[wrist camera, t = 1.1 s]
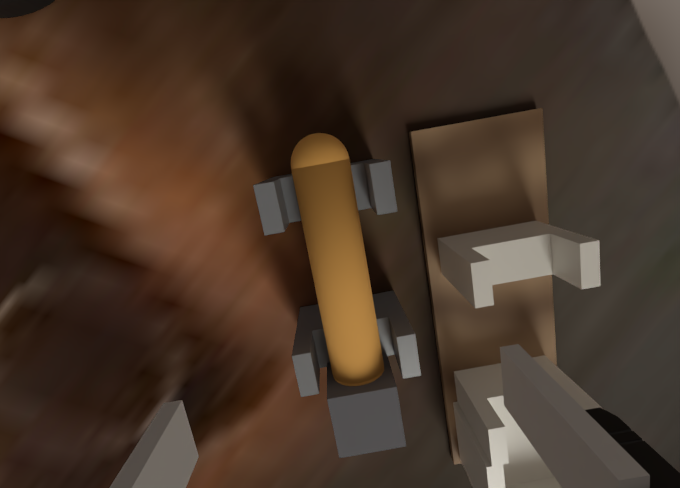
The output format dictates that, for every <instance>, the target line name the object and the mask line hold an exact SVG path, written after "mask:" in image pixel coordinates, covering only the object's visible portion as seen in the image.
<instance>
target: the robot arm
mask: <svg viewBox="0 0 680 488" xmlns="http://www.w3.org/2000/svg"><path fill="white" fill-rule="evenodd" d="M53 1H55V0H0V18H11V17H18V16H22V15H26V14H29V13H32V12H35V11H37V10H40V9H42V8H44V7H45V6H47V5H49V4H50V3H52V2H53ZM500 356H501V370H502V384H503V397H504V406H505V407H506V409H507V410H508V412H509V413H510V414H511V416H512V417H513V419H514V420H515V422H516V423H517V424H518V426H519V427H520V429H521V430H522V432H523V433H524V434H525V436H526V437H527V439H528V440H529V441H530V443H531V444H532V446H533V447H534V449H535V450H536V451H537V453H538V454H539V456H540V457H541V459H542V460H543V461H544V463H545V464H546V466H547V467H548V468H549V470H550V471H551V473H552V474H553V476H554V477H555V478H556V480H557V481H558V483H559V484H560V485H561V487H562V488H680V473H679V472H678V471H677V470H676V469H675V468H673V467H672V466H671V465H670V464H669V463H668V462H667V461H666V460H665V459H664V458H662V457H661V456H660V455H659V454H658V453H657V452H656V451H655V450H654V449H653V448H651V447H650V446H649V445H648V444H647V443H646V442H645V441H642V438H640V437H639V436H638V435H637V434H636V433H635V432H634V431H631V429H630V428H629V427H628V426H627V425H626V424H625V423H624V422H623V421H622V420H621V419H619V418H618V417H617V416H615V415H613V414H611V413H610V412H608V411H606V410H604V409H602V408H594V409H588V410H584V409H583V408H582V407H581V406H580V405H579V404H578V403H577V402H576V401H575V400H574V399H573V398H572V397H571V396H570V395H569V394H568V393H567V392H566V391H565V390H564V389H563V388H562V387H561V386H560V385H559V384H558V383H557V382H556V381H555V380H554V379H553V378H552V377H551V376H550V375H549V374H548V373H547V372H546V371H545V370H544V369H543V368H542V367H541V366H540V365H539V364H538V363H537V362H536V361H535V360H534V359H533V358H532V357H531V356H530V355H529V354H528V353H527V352H526V351H525V350H524V349H523V348H522V347H521V346H520V345H519V344H515V345H509V346H503V347H500ZM198 457H199V456H198V453H197V449H196V446H195V442H194V439H193V436H192V432H191V429H190V425H189V422H188V419H187V415H186V412H185V408H184V405H183V402H182V400H180V401H174V402H168V403H163V405H162V406H161V408H160V410H159V411H158V413H157V414H156V416H155V417H154V419H153V421H152V422H151V424H150V425H149V427H148V428H147V430H146V431H145V433H144V435H143V436H142V438H141V439H140V441H139V442H138V444H137V446H136V447H135V449H134V450H133V452H132V453H131V455H130V457H129V458H128V460H127V461H126V463H125V464H124V466H123V467H122V469H121V471H120V472H119V474H118V475H117V477H116V478H115V480H114V482H113V483H112V485H111V486H110V488H186V486H187V483H188V481H189V479H190V476H191V474H192V471H193V469H194V467H195V464H196V462H197V459H198Z"/></svg>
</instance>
